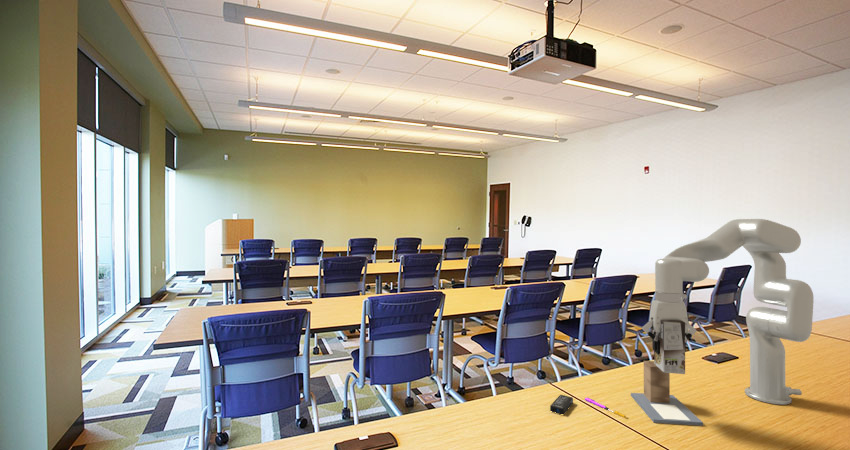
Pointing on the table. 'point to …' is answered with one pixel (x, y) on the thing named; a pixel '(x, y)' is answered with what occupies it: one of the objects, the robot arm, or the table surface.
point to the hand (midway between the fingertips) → (668, 352)
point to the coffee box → (671, 347)
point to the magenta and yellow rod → (604, 407)
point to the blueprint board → (658, 418)
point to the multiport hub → (561, 404)
